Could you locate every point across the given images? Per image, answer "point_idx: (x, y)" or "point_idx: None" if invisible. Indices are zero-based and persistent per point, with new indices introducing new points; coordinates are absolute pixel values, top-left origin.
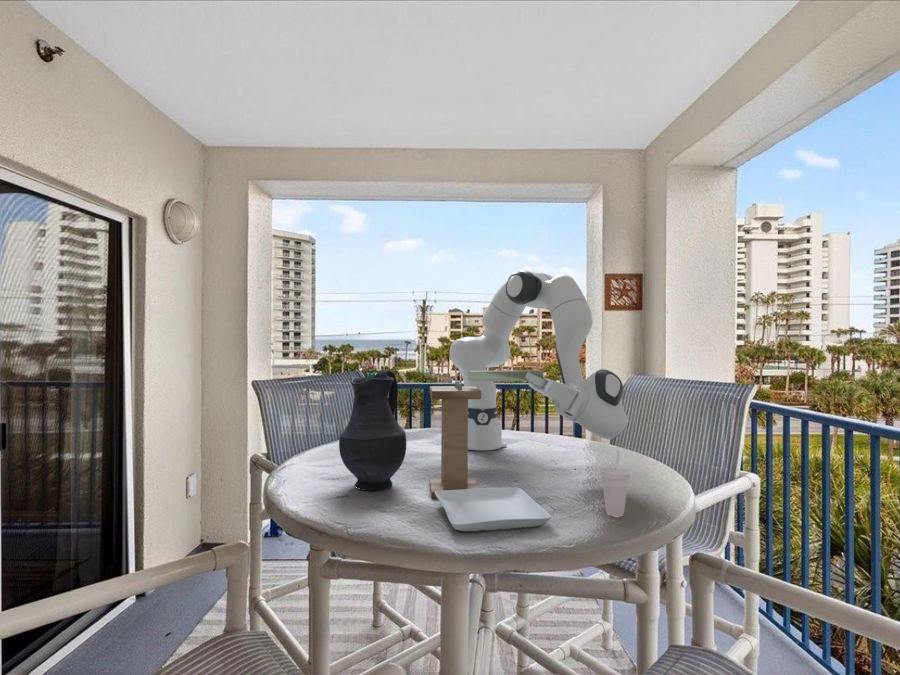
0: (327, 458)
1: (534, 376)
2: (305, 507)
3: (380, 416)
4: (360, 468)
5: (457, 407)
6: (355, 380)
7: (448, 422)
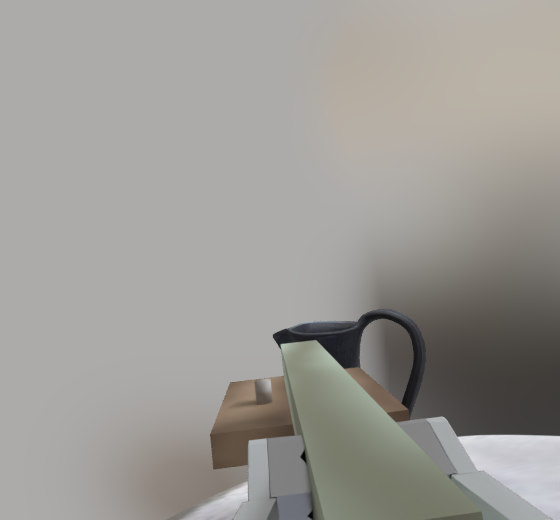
0: (501, 458)
1: (241, 518)
2: (236, 500)
3: None
4: None
5: None
6: (336, 327)
7: None
